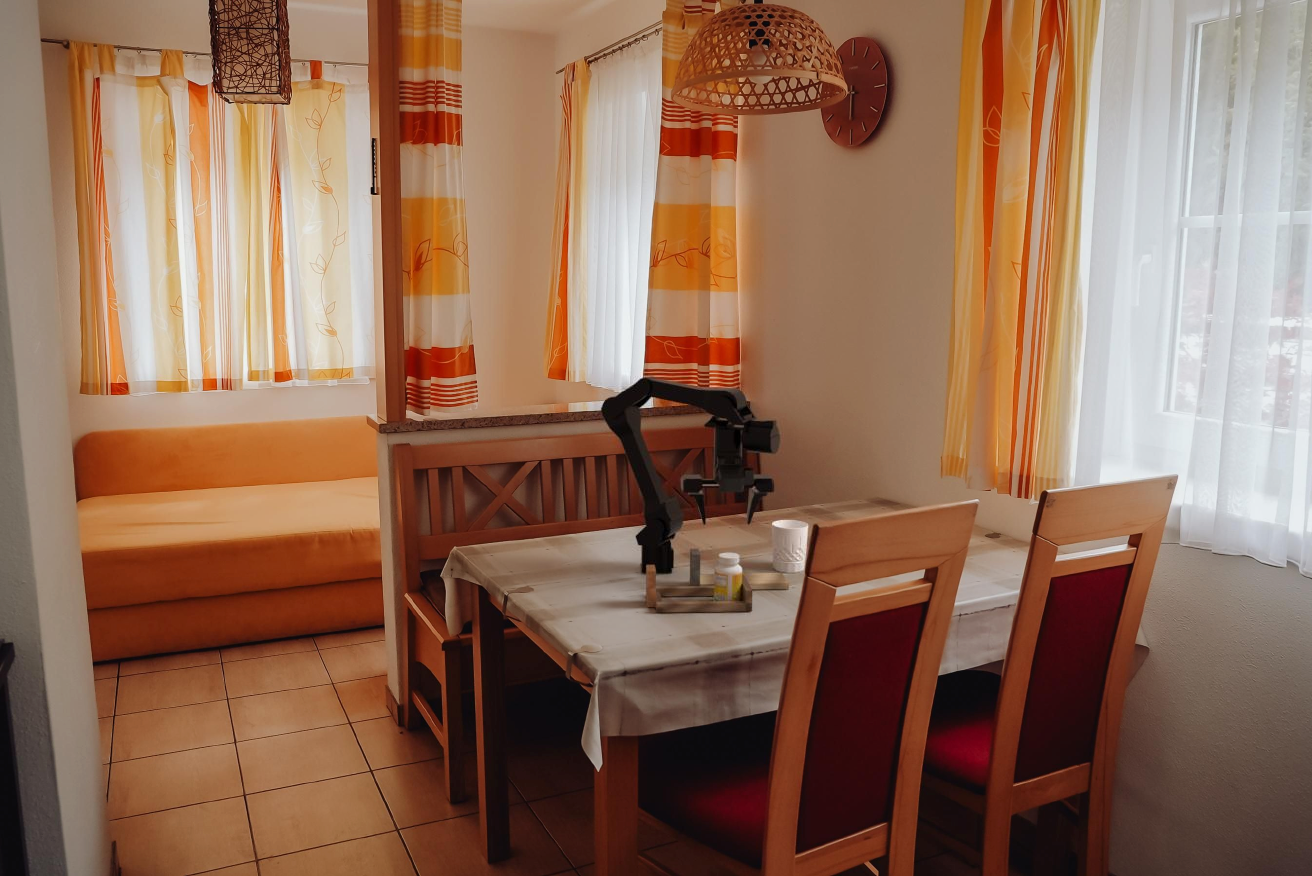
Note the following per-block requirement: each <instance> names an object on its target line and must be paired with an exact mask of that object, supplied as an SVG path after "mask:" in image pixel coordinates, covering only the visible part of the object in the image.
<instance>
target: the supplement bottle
mask: <svg viewBox="0 0 1312 876" xmlns="http://www.w3.org/2000/svg"><path fill="white" fill-rule="evenodd" d="M717 559H718V564H716V566H715V567H714V573H713V574H714V596H713V601H741V595H742V574H743V567H742V566H741V565H740V564H739V563H740V555H739V554H737V553H735V552H722V553H721V552H720V553H719V554H718V557H717Z"/></svg>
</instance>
